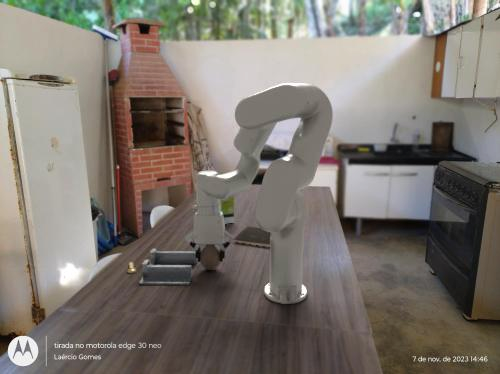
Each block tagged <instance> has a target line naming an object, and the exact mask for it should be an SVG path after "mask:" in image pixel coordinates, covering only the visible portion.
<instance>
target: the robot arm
mask: <svg viewBox="0 0 500 374" xmlns="http://www.w3.org/2000/svg"><path fill="white" fill-rule="evenodd" d="M299 118H300V120H299V123H298V126H297V128H296V129H295V131H294V133H293V136H292V139H291V141H290V142H291V143H290V146H289V148H288V151H287V153H286V154H285V156H282V157H280V158H276V159H275V160H274V161H272V162H271V163H270V164H269V165H268V166H267V168H266V170H265V173H264V174H263V179H262V181H261V182H262V183H261V186H260V189H259V191H258V195H257V199H256V202H255V208H254V217H255V221H256V224H257V225H258V228H261V229H263V230H264V231H267V232H271V233H270V248H269V282H268V283H267V284H266V285H265V286H264V288H263V290H264V291H263V293H264V295H265V297H266V298H267V299H268V300H270V301H272V302H274V303H278V304H282V305H290V304H296V303H300V302H302V301H303V300H305V299H306V298H307V295H308V290H307V289H308V288H307V287H306V286H305V285H304V284H303V268H304V267H303V265H304V264H303V263H304V262H303V260H304V259H303V258H304V240H305V238H304V235H305V227H306V221H307V214H308V202H307V198H306V197H305V194H303V192H302V191H301V190H303V189H305V188H306V187H308V186H310V185H311V183H312V182H313V181H314V178H315V177H316V173H317V169H318V166H319V163H320V161H321V157H322V156H323V153H324V148H325V145H326V142H327V139H328V137H329V134H330V130H331V128H332V123H333V106H332V103H331V101H330V98H329V97H328V95H327V94H326V93H325V92H324V91H323V90H322V89H321V88H320V87H318V86H316V85H314V84H311V83H303V82H302V83H301V82H284V83H280V84H278V85H274V86H272V87H269V88H267V89H264V90H262V91H259V92H256V93H253V94H251V95H248V96H246V97H244V98H242V99H241V100H240V101H239V102H238V103H237V105H236V107H235V110H234V119H235V122H236V124H237V126H238V127H239V129H238V131H237V133H236V135H235V138H234V139H233V146H234V148H235V149H236V150H237V151H238V152H239V153H240V159H239V160H238V163H237V165H236V166H235V169H233V170H231V171H229V172H224V173H221V174H220V173H219V172H218V171H215V170H212V169H211V170H201V171H200V170H199V171H198V172H197V173H196V175H195V189H196V190H195V191H196V204H194V205H192V211H193V210H195V211H196V212H195V213H194V218H193V228H192V229H193V231H191V233H189V234H188V235H187V236H186V237H185V239H184V240H185V241H186V242H187V243H188V244H189V246H190V247H192V248H193V251H195V253H196V258H197V263H200V254H201V251H202V248H201V247H200V246H201V245H204V246H205V245H215V246H216V245H217V246H219V251H220V263H223V260H224V259H225V258H226V249H227V248H228V247H229V246H230V245H231V244H232V243H233V242H234V241H235V240H234V238H235V237H234V236H233V235H232V234H231V233H229V231H227V230H226V226H225V223H224V217H223V213H222V212H221V208H220V200H224V199H228V198H230V197H233V196H234V197H235V196H236V195H240V194H242V193H244V192H246V191H247V190H248V189H249V188H250V187H251V185H252V184H253V181H254V180H255V178H256V176H257V175H258V172H259V169H260V165H261V153H262V152H263V149H264V148H265V145H266V143H267V141H268V139H269V138H270V137H271V135H272V132H273V131H274V129H275V127H276V125H277V124H278V123H280V122H283V121H288V120H293V119H299ZM226 238H227V240H226V241H225V239H226Z"/></svg>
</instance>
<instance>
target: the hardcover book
mask: <svg viewBox="0 0 500 374" xmlns="http://www.w3.org/2000/svg"><path fill="white" fill-rule="evenodd" d="M270 233H271V232H267V231H264V230H263V229H261V228H260V227H259V226H257V227H256V226H250V225H249V226H246V227H245V228H244V229H242V231H240V233H238V234H237V235H236V236H235V237H234V240H233V241H234V243H235V242H238V243H237V244H242V243H245V244H244V245H249V244H251V245H250V246H256V245H258V246H257V247H263V246H265V247H264V248H269V247H270Z"/></svg>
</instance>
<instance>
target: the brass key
mask: <svg viewBox="0 0 500 374" xmlns="http://www.w3.org/2000/svg"><path fill="white" fill-rule="evenodd" d="M128 265H129V268H128V269H127V273H128V274H135V273H136V272H137V268H136V267H134V262H133V261H132V262H131V261H130V262H129V264H128Z"/></svg>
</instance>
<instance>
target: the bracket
mask: <svg viewBox="0 0 500 374" xmlns="http://www.w3.org/2000/svg"><path fill="white" fill-rule="evenodd" d="M191 264H193V265H194V264H195V265H197V264H198V261H197V258H196V253H195V250H192V251H191V250H189V251H188V250H187V251H185V250H184V251H183V250H177V251H175V250H173V251H172V250H170V251H169V250H167V251H165V250H161V251H160V250H158V249H157V248H152V249H151V250H150V252H149V259H144V260H143V262H142V263H141V269H142V270H141V271H142V278H141V279H140V281H139V282H138V283H139V284H138V285H143V286H144V285H145V286H147V285H148V286H149V285H152V286H153V285H154V286H156V285H157V286H160V285H161V286H164V285H165V286H169V285H170V286H171V285H172V286H185V285H186V286H189V285H190V283H191V281H192V278H193V270H192V265H191Z"/></svg>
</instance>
